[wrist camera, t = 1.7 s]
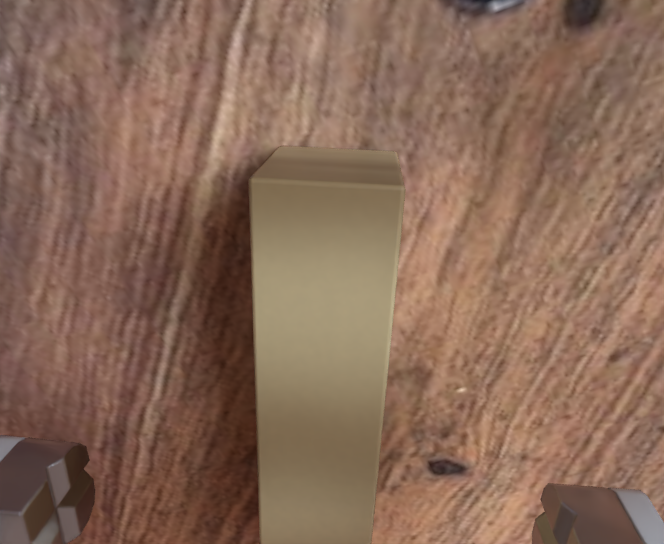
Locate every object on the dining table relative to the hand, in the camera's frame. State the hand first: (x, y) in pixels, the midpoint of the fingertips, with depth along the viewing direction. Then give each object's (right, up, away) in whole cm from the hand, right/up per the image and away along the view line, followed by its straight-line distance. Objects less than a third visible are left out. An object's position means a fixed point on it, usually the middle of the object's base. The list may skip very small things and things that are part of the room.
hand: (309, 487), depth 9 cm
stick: (0, +2, +3) cm, 4 cm away
